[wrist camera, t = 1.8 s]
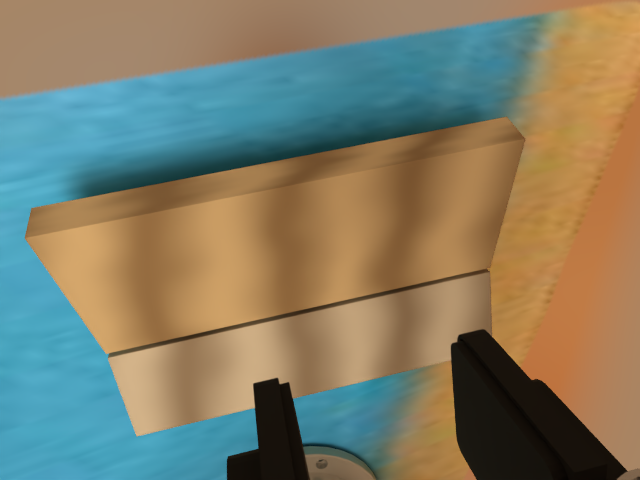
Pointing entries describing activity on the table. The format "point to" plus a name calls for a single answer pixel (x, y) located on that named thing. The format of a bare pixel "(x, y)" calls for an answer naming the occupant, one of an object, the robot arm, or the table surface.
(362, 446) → the table surface
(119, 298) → the oak plank
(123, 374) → the ash board
